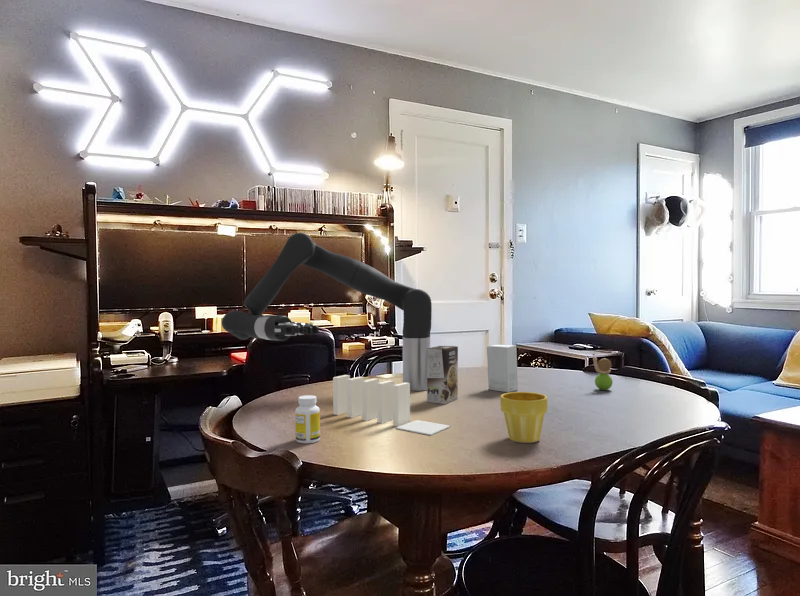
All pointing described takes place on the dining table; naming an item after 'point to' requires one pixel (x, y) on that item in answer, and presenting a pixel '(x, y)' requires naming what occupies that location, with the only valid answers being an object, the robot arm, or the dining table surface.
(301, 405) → the supplement bottle
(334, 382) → the domino
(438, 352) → the coffee box
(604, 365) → the snail figurine
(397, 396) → the domino
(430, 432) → the felt pad
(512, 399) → the plant pot
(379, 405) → the domino
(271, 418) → the dining table surface
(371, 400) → the domino
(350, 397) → the domino
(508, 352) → the skincare box
